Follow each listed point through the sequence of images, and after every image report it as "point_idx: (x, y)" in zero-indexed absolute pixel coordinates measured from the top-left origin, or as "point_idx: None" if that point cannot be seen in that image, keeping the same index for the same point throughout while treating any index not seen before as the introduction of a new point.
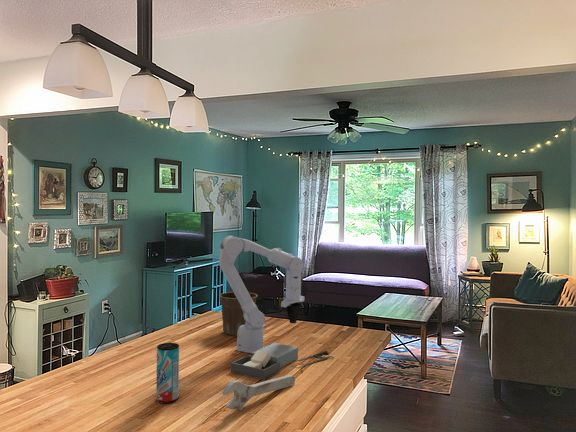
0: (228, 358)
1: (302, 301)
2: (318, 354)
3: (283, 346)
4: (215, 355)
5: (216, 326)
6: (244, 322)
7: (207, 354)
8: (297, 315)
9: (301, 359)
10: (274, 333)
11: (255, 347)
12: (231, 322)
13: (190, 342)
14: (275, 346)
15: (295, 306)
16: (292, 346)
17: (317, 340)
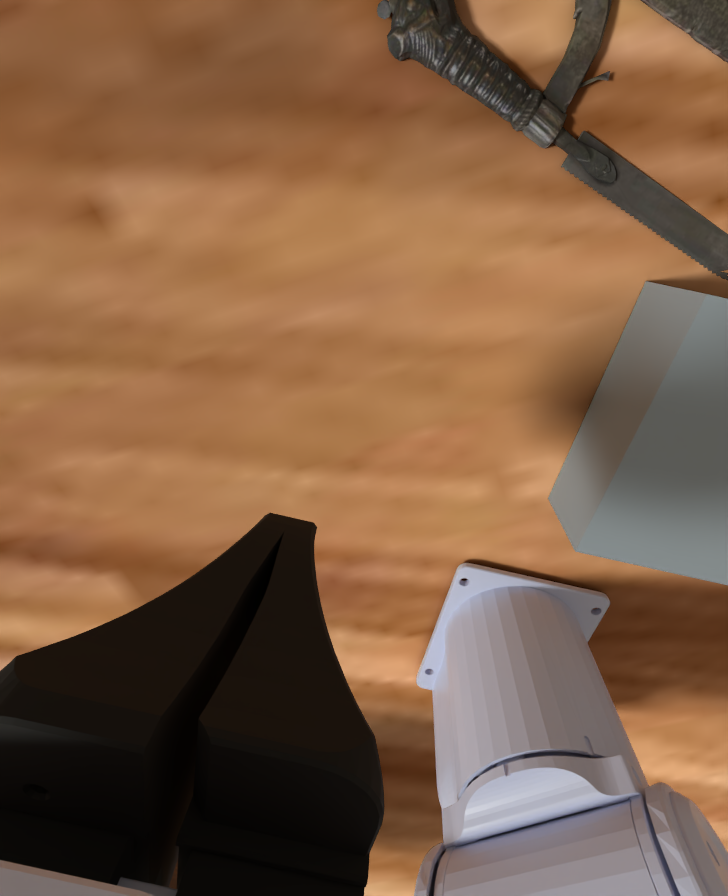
0: (708, 699)
1: (23, 885)
2: (523, 82)
3: (690, 448)
4: (658, 758)
5: None
6: None
7: None
8: (224, 566)
9: (673, 235)
10: (88, 612)
11: (584, 636)
12: None
13: None
14: (701, 513)
15: (320, 800)
16: (678, 363)
17: (34, 267)
